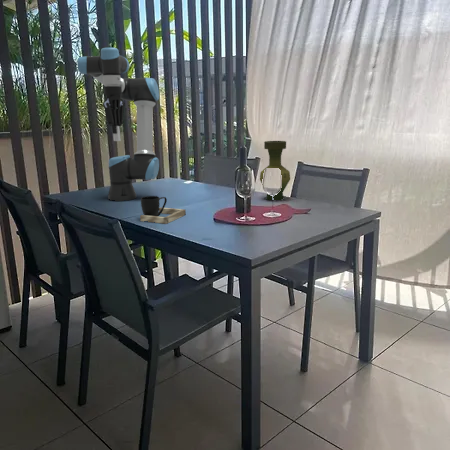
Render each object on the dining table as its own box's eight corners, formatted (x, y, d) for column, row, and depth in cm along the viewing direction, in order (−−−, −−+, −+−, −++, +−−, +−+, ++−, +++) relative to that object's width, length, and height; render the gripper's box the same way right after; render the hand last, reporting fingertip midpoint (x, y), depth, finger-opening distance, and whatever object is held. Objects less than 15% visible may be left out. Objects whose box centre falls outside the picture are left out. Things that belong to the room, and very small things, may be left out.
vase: (294, 196, 241) (295, 140, 233) (285, 203, 227) (285, 143, 219) (265, 194, 248) (265, 140, 240) (254, 200, 234) (254, 142, 226)
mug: (170, 217, 203) (169, 197, 201) (145, 221, 198) (144, 200, 195) (164, 214, 210) (162, 194, 208) (139, 217, 205) (138, 197, 202)
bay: (140, 221, 198) (140, 215, 198) (160, 212, 213) (160, 207, 213) (166, 223, 193) (166, 218, 192) (185, 214, 208) (185, 209, 207)
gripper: (110, 85, 187) (115, 142, 193) (128, 86, 198) (132, 139, 205) (95, 85, 190) (101, 142, 196) (114, 86, 201) (119, 139, 208)
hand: (117, 140), depth 200 cm, fingers closed
